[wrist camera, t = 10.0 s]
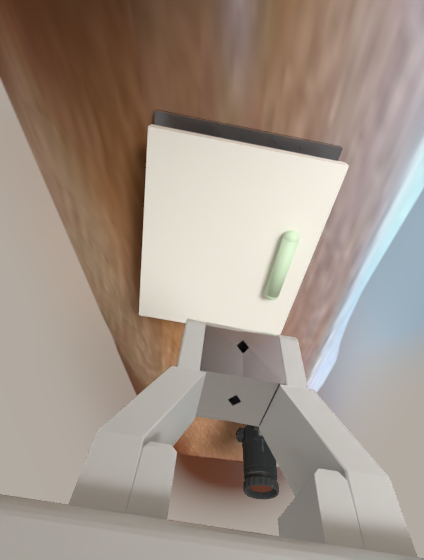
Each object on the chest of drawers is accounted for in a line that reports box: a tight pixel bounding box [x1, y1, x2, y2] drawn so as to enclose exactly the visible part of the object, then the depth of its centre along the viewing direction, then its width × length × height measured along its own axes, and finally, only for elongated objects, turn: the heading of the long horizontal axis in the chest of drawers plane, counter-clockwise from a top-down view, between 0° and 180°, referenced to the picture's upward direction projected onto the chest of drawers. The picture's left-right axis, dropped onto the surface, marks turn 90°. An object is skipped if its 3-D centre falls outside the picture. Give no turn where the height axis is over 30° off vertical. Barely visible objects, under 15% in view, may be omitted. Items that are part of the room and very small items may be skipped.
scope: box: [236, 425, 279, 499], centre depth 54 cm, size 8×14×10 cm
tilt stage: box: [139, 124, 349, 335], centre depth 34 cm, size 22×18×3 cm
